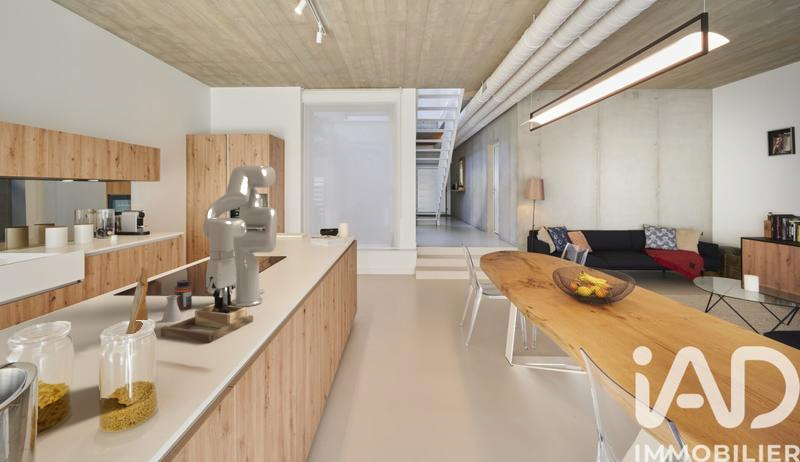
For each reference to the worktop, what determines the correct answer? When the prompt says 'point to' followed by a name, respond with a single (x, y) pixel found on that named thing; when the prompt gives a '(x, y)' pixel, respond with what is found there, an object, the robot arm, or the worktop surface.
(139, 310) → the pancake mix bag
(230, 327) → the bay
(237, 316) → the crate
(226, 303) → the handle peg
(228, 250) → the robot arm
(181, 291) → the supplement bottle
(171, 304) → the flask
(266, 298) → the worktop surface
